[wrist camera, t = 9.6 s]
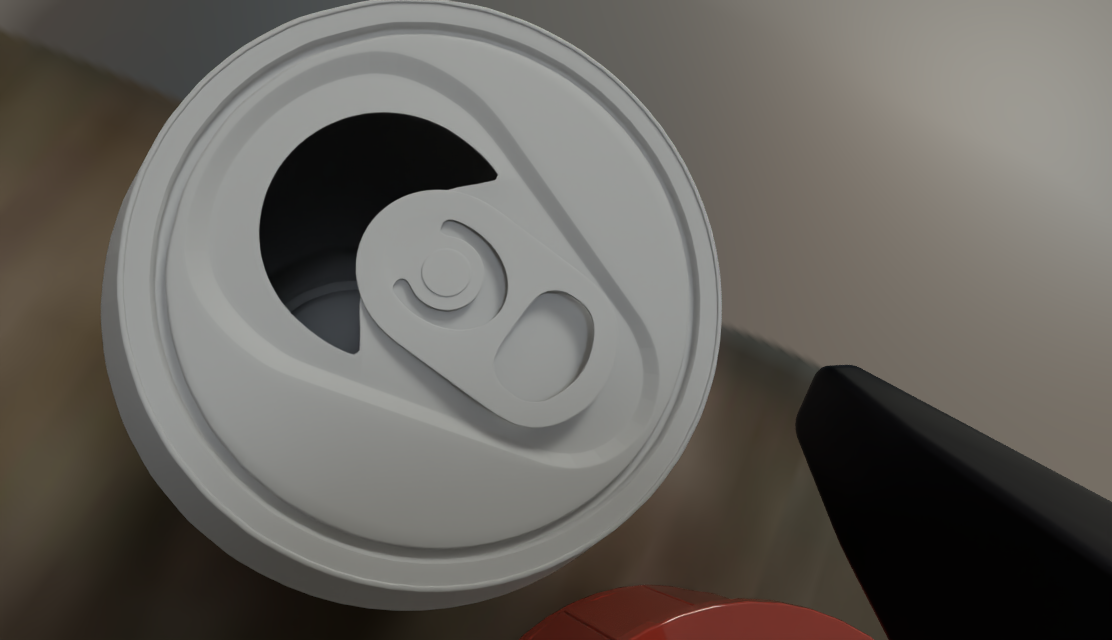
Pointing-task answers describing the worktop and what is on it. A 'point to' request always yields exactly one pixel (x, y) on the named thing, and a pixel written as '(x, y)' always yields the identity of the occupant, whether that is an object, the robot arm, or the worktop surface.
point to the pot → (615, 612)
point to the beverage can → (410, 305)
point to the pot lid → (745, 623)
